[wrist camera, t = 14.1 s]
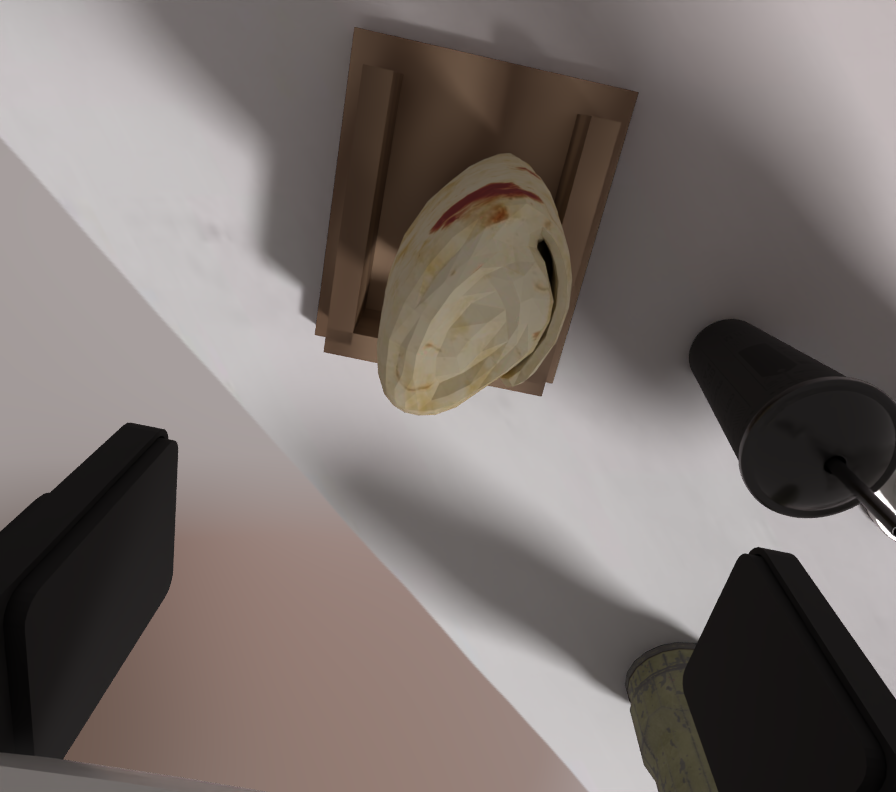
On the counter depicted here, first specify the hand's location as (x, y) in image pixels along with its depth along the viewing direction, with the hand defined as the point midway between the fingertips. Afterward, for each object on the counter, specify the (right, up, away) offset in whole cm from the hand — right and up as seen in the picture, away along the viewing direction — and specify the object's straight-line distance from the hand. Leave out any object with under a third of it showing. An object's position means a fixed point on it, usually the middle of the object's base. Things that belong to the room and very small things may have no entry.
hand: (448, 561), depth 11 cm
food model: (+2, +13, +29) cm, 32 cm away
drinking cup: (+19, +6, +34) cm, 39 cm away
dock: (+1, +14, +31) cm, 34 cm away
